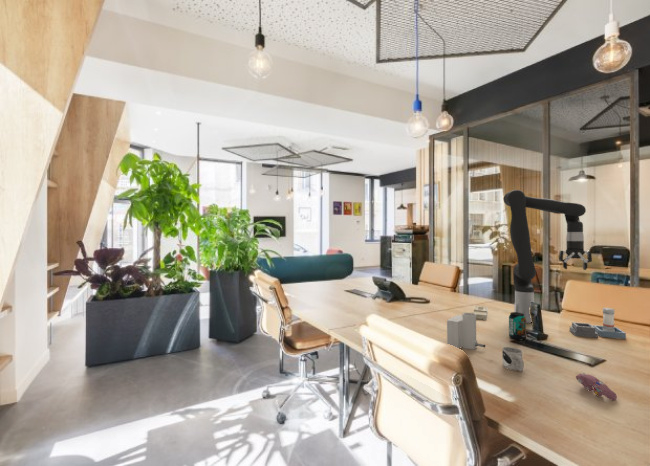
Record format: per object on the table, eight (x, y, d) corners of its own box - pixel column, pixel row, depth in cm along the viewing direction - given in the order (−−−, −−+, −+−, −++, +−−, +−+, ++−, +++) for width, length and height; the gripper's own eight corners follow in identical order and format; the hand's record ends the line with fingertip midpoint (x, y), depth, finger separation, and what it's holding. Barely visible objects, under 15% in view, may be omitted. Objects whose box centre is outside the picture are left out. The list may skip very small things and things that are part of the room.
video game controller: (579, 390, 107) (570, 373, 107) (589, 383, 108) (581, 366, 107) (608, 406, 98) (599, 387, 97) (620, 399, 98) (611, 379, 98)
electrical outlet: (473, 312, 189) (475, 305, 204) (473, 319, 189) (475, 312, 204) (486, 313, 185) (487, 306, 201) (486, 320, 185) (487, 313, 201)
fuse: (604, 333, 156) (604, 309, 156) (601, 331, 160) (601, 307, 160) (616, 334, 155) (616, 310, 154) (612, 332, 159) (612, 308, 158)
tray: (600, 336, 155) (600, 330, 155) (592, 330, 164) (592, 325, 164) (625, 339, 151) (625, 333, 151) (616, 332, 160) (616, 327, 160)
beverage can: (528, 341, 150) (528, 315, 150) (512, 340, 151) (512, 315, 151) (522, 336, 157) (522, 312, 157) (506, 335, 158) (506, 311, 158)
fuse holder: (575, 335, 157) (575, 326, 157) (569, 330, 165) (569, 321, 165) (598, 337, 153) (597, 328, 153) (591, 332, 161) (591, 323, 161)
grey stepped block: (458, 339, 153) (458, 308, 153) (489, 347, 143) (489, 314, 143) (447, 346, 145) (446, 313, 144) (479, 355, 135) (479, 319, 134)
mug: (499, 363, 126) (499, 346, 126) (516, 363, 126) (516, 346, 126) (513, 375, 116) (513, 356, 116) (531, 375, 116) (531, 356, 116)
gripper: (561, 240, 176) (561, 269, 176) (593, 240, 170) (593, 270, 170) (557, 239, 182) (557, 268, 183) (588, 239, 177) (588, 269, 177)
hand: (575, 269), depth 176 cm, fingers open, 8 cm apart
